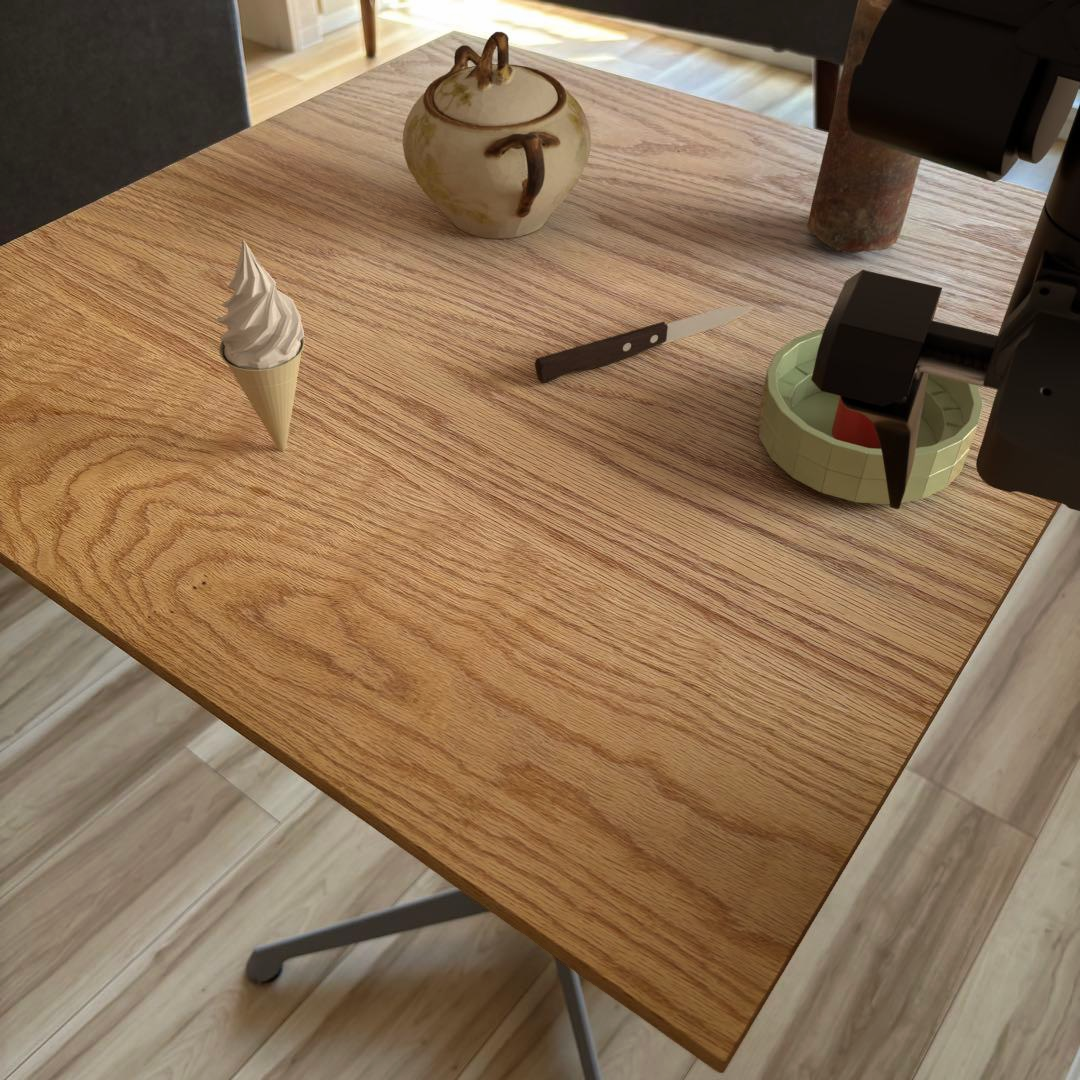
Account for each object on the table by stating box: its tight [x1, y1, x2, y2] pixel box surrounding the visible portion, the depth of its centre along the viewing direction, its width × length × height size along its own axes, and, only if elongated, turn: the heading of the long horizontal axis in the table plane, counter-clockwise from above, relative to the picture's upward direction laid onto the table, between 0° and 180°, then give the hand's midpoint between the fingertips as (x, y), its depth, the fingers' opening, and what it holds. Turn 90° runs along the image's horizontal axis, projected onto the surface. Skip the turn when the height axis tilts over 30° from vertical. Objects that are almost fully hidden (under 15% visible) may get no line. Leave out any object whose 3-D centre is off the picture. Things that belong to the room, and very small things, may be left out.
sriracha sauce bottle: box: [832, 396, 881, 449], centre depth 72 cm, size 4×4×5 cm
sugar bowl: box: [402, 31, 592, 240], centre depth 90 cm, size 20×15×15 cm
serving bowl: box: [757, 328, 984, 506], centre depth 73 cm, size 13×13×4 cm
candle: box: [806, 0, 922, 254], centre depth 85 cm, size 8×7×20 cm
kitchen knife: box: [534, 305, 755, 384], centre depth 81 cm, size 18×1×2 cm, turn 118°
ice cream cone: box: [216, 240, 306, 452], centre depth 68 cm, size 5×5×15 cm
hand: (998, 531), depth 51 cm, fingers open, 9 cm apart
